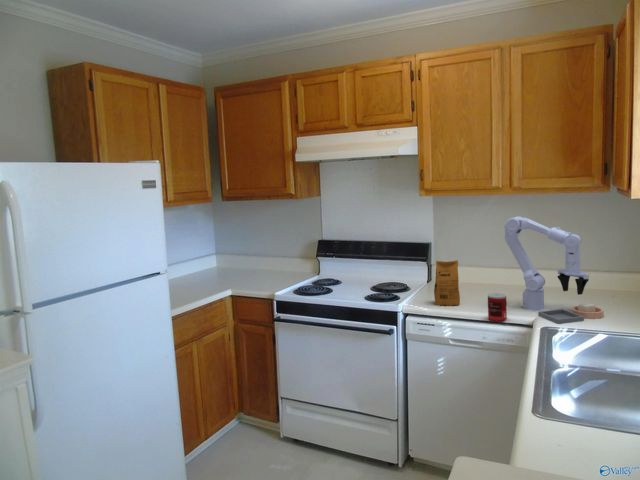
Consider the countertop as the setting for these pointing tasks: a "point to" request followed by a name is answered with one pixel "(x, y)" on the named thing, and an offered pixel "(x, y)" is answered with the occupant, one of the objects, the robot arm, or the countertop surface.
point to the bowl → (589, 313)
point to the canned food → (497, 307)
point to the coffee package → (447, 283)
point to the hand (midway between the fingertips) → (572, 292)
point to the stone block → (586, 307)
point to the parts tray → (561, 316)
